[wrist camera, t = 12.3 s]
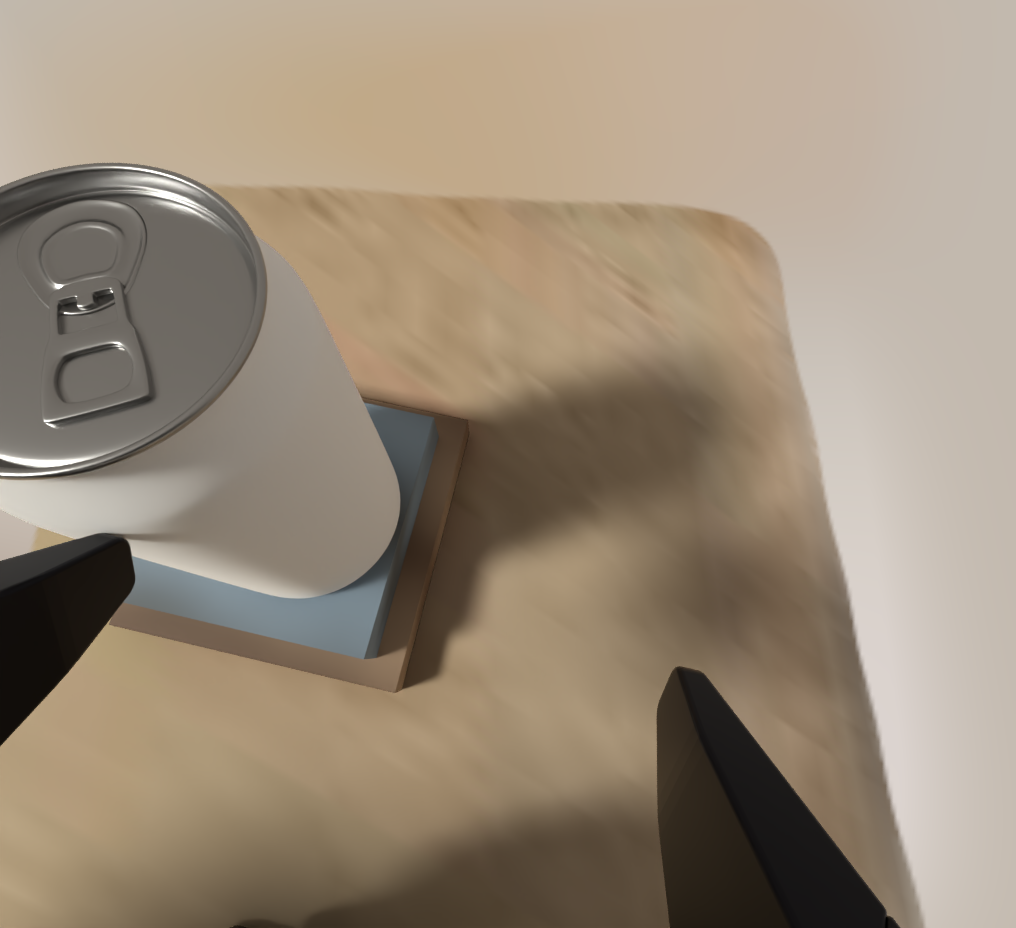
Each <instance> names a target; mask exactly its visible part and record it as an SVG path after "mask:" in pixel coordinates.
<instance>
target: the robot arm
mask: <svg viewBox="0 0 1016 928" xmlns="http://www.w3.org/2000/svg"><path fill="white" fill-rule="evenodd" d="M135 579H136V576H135V570H134V564H133V559H132V553H131V547H130V544H129V542H128V541H127V540H126V539H124V538H122V537H119V536H114V535H110V534H105V533H97V534H93V535H89V536H86V537H83V538H79V539H76V540H72V541H69V542H65V543H62V544H58V545H55V546H51V547H48V548H44V549H41V550H37V551H34V552H30V553H27V554H24V555H20V556H16V557H13V558H9V559H6V560H2V561H0V746H1V745H2V744H3V743H4V742H5V741H6V740H7V739H8V737H9V736H10V735H11V734H12V733H13V732H14V731H15V730H16V729H17V728H18V727H19V726H20V725H21V723H22V722H23V721H24V720H25V719H26V718H27V717H28V716H29V715H30V714H31V713H32V712H33V711H34V709H35V708H36V707H37V706H38V705H39V704H40V703H41V702H42V701H43V700H44V699H45V698H46V697H47V695H48V694H49V693H50V692H51V691H52V690H53V689H54V688H55V687H56V686H57V685H58V683H59V682H60V681H61V680H62V679H63V678H64V677H65V676H66V674H67V673H68V672H69V671H70V670H71V668H72V667H73V666H74V665H75V663H76V662H77V661H78V660H79V659H80V657H81V656H82V655H83V653H84V652H85V651H86V650H87V648H88V647H89V646H90V644H91V643H92V642H93V641H94V639H95V638H96V637H97V635H98V634H99V633H100V632H101V630H102V629H103V628H104V626H105V625H106V624H107V622H108V621H109V620H110V619H111V617H112V616H113V615H114V613H115V612H116V611H117V610H118V608H119V607H120V606H121V604H122V603H123V602H124V601H125V599H126V598H127V597H128V595H129V594H130V593H131V591H132V589H133V587H134V584H135ZM657 802H658V824H659V835H660V844H661V853H662V862H663V870H664V879H665V888H666V896H667V905H668V914H669V923H670V928H900V927H899V925H898V924H897V923H896V921H895V920H894V919H893V918H892V917H890V916H887V912H886V909H885V908H884V906H883V905H882V904H881V902H880V901H879V900H878V898H877V897H876V896H875V895H874V893H873V892H872V891H871V889H870V888H869V887H868V886H867V884H866V883H865V882H864V880H863V879H862V878H861V876H860V875H859V874H858V873H857V871H856V870H855V869H854V867H853V866H852V865H851V863H850V862H849V861H848V860H847V858H846V857H845V856H844V854H843V853H842V852H841V850H840V849H839V848H838V847H837V845H836V844H835V843H834V841H833V840H832V839H831V837H830V836H829V835H828V834H827V832H826V831H825V830H824V828H823V827H822V826H821V824H820V823H819V822H818V821H817V819H816V818H815V817H814V815H813V814H812V813H811V812H810V810H809V809H808V808H807V806H806V805H805V804H804V802H803V801H802V800H801V799H800V797H799V796H798V795H797V793H796V792H795V791H794V789H793V788H792V787H791V786H790V784H789V783H788V782H787V780H786V779H785V778H784V776H783V775H782V774H781V773H780V771H779V770H778V769H777V767H776V766H775V765H774V763H773V762H772V761H771V760H770V758H769V757H768V756H767V754H766V753H765V752H764V751H763V749H762V748H761V747H760V745H759V744H758V743H757V741H756V740H755V739H754V738H753V736H752V735H751V734H750V732H749V731H748V730H747V728H746V727H745V726H744V725H743V723H742V722H741V721H740V719H739V718H738V717H737V715H736V714H735V713H734V712H733V710H732V709H731V708H730V706H729V705H728V704H727V702H726V701H725V700H724V699H723V697H722V696H721V695H720V693H719V692H718V691H717V690H716V688H715V687H714V686H713V684H712V683H711V682H710V680H709V679H708V678H707V677H706V675H705V674H704V673H702V672H701V671H698V670H694V669H689V668H685V667H680V666H679V667H675V668H674V669H673V671H672V673H671V675H670V677H669V680H668V682H667V684H666V686H665V689H664V691H663V693H662V696H661V698H660V700H659V704H658V708H657ZM886 916H887V917H886ZM230 928H247V927H243V926H233V927H230Z"/></svg>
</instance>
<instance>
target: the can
mask: <svg viewBox="0 0 1016 928" xmlns="http://www.w3.org/2000/svg"><path fill="white" fill-rule="evenodd" d="M0 509H1V510H2V511H4V512H6V513H8V514H10V515H12V516H14V517H16V518H19V519H21V520H23V521H25V522H27V523H30V524H32V525H35V526H38V527H40V528H43V529H46V530H49V531H52V532H55V533H58V534H61V535H64V536H67V537H71V538H74V539H79V538H83V537H86V536H89V535H93V534H97V533H105V534H110V535H114V536H119V537H122V538H124V539H126V540H127V541H128V542H129V544H130V547H131V553H132V556H134V557H137V558H141V559H144V560H148V561H151V562H155V563H158V564H161V565H165V566H168V567H172V568H175V569H179V570H182V571H186V572H189V573H193V574H196V575H200V576H203V577H207V578H210V579H214V580H217V581H221V582H224V583H228V584H231V585H235V586H238V587H242V588H245V589H249V590H253V591H256V592H260V593H264V594H268V595H272V596H277V597H283V598H311V597H317V596H322V595H325V594H329V593H331V592H334V591H337V590H339V589H341V588H343V587H345V586H347V585H349V584H351V583H352V582H354V581H355V580H357V579H358V578H360V577H361V576H362V575H363V574H365V573H366V572H367V571H368V570H369V569H370V568H371V567H372V566H373V565H374V564H375V563H376V562H377V561H378V560H379V558H380V557H381V556H382V554H383V553H384V551H385V550H386V548H387V547H388V545H389V543H390V541H391V539H392V537H393V535H394V532H395V529H396V526H397V523H398V518H399V513H400V490H399V484H398V480H397V476H396V473H395V470H394V468H393V465H392V463H391V461H390V459H389V456H388V454H387V452H386V450H385V447H384V445H383V443H382V441H381V439H380V437H379V434H378V432H377V430H376V428H375V426H374V424H373V422H372V419H371V417H370V415H369V413H368V411H367V409H366V407H365V404H364V402H363V400H362V398H361V396H360V394H359V392H358V390H357V388H356V385H355V383H354V381H353V379H352V377H351V375H350V373H349V371H348V369H347V367H346V364H345V362H344V360H343V358H342V356H341V354H340V352H339V350H338V348H337V346H336V343H335V341H334V339H333V337H332V335H331V333H330V331H329V329H328V327H327V325H326V323H325V321H324V319H323V317H322V315H321V313H320V311H319V309H318V307H317V305H316V303H315V302H314V300H313V298H312V296H311V294H310V292H309V291H308V289H307V287H306V286H305V284H304V283H303V281H302V280H301V278H300V277H299V275H298V274H297V272H296V271H295V270H294V269H293V267H292V266H291V265H290V264H289V263H288V262H287V261H286V260H285V258H284V257H282V256H281V255H280V254H279V253H278V252H277V251H276V250H275V249H273V248H272V247H271V246H270V245H269V244H267V243H266V242H264V241H263V240H262V239H260V238H259V237H257V236H256V235H254V233H253V232H252V230H251V228H250V227H249V225H248V224H247V222H246V221H245V220H244V218H243V217H242V216H241V215H240V214H239V212H238V211H237V210H236V209H235V208H234V207H233V206H232V205H231V204H230V203H229V202H228V201H226V200H225V199H224V198H223V197H221V196H220V195H219V194H217V193H216V192H214V191H213V190H211V189H210V188H208V187H206V186H205V185H203V184H201V183H199V182H197V181H195V180H193V179H191V178H188V177H186V176H183V175H181V174H178V173H175V172H172V171H168V170H164V169H160V168H155V167H151V166H145V165H138V164H127V163H94V164H83V165H75V166H68V167H63V168H58V169H53V170H49V171H45V172H41V173H38V174H34V175H31V176H28V177H25V178H22V179H19V180H16V181H14V182H11V183H9V184H7V185H4V186H2V187H0Z"/></svg>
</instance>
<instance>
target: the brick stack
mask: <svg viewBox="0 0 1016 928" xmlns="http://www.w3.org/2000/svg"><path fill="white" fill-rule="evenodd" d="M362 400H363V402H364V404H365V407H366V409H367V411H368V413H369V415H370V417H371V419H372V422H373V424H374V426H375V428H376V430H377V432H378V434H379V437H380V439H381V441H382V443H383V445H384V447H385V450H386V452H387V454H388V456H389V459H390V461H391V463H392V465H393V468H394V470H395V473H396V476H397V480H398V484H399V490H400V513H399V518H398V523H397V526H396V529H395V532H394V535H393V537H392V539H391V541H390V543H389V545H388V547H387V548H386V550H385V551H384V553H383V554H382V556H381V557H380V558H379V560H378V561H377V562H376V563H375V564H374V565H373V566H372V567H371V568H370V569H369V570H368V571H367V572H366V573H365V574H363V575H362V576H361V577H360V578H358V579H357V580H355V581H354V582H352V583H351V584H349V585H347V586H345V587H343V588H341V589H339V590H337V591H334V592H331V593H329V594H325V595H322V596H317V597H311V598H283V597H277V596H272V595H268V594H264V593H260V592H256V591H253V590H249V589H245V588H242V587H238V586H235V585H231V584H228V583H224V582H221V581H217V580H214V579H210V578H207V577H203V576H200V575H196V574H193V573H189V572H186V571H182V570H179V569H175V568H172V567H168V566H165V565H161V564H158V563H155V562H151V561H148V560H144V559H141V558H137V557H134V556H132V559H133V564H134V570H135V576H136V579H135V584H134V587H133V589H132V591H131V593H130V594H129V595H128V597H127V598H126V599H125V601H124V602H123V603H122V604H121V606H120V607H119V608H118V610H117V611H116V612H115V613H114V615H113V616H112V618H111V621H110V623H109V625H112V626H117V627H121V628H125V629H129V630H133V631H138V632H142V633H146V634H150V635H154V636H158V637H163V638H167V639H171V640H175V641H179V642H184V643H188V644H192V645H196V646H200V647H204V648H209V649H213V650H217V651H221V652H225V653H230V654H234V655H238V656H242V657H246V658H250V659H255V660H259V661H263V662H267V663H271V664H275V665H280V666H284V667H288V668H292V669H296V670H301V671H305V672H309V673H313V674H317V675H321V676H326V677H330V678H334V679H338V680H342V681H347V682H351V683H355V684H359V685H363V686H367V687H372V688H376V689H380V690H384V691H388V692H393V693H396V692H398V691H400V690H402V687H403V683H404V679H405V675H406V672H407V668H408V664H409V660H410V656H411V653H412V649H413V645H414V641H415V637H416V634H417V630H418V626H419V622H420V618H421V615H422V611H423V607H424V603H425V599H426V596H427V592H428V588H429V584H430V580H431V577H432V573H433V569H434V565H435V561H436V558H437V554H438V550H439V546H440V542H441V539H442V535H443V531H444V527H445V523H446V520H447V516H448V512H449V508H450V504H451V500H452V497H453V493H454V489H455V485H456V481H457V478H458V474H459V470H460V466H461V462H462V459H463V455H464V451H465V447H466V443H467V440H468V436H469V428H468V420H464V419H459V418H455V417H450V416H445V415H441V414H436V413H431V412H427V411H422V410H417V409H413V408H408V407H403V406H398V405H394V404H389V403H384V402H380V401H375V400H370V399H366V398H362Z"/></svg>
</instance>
